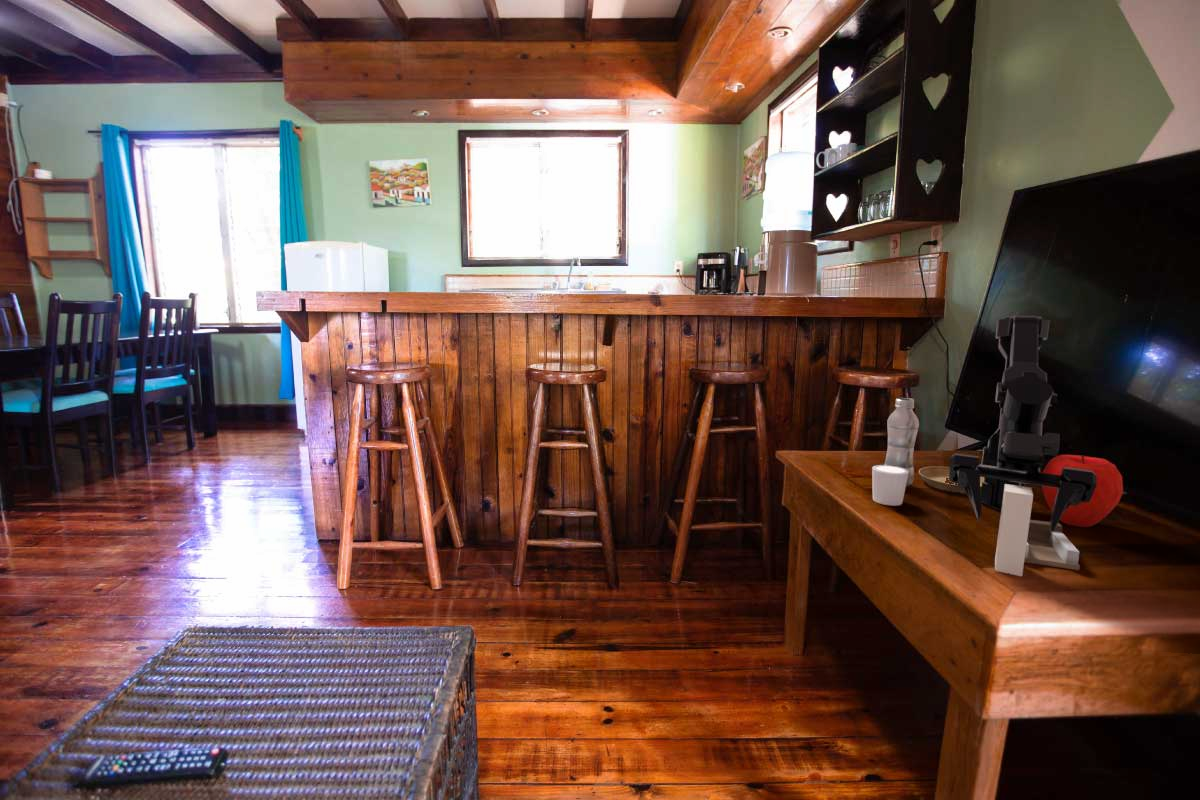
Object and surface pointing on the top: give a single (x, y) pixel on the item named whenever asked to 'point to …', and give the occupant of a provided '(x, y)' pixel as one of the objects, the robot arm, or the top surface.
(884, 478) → the white cup
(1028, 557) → the sill track
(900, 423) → the plastic bottle
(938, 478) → the plant saucer
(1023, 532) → the white rectangular block
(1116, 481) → the apple
